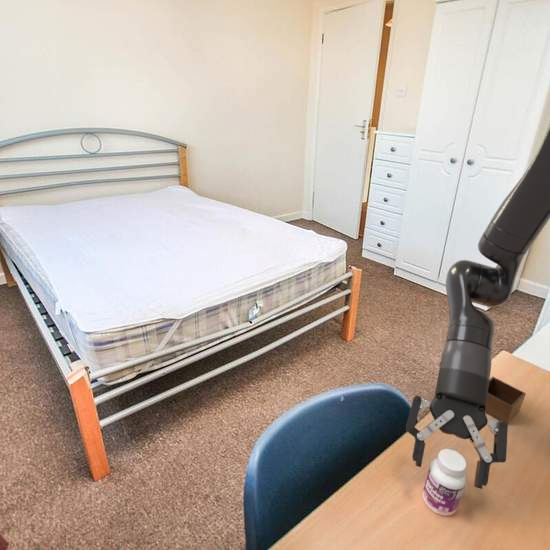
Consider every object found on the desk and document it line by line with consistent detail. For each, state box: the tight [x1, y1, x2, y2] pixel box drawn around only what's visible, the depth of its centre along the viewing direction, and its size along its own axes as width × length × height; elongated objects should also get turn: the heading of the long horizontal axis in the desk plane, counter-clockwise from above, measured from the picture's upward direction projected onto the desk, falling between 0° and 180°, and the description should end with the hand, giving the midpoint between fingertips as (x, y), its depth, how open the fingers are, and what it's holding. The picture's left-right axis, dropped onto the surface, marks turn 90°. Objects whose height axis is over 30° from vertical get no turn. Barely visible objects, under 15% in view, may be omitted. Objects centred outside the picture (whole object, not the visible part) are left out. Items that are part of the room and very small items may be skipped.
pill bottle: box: [422, 448, 468, 517], centre depth 60 cm, size 5×5×10 cm
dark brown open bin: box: [485, 376, 527, 424], centre depth 81 cm, size 7×7×5 cm
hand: (447, 476), depth 58 cm, fingers open, 8 cm apart
